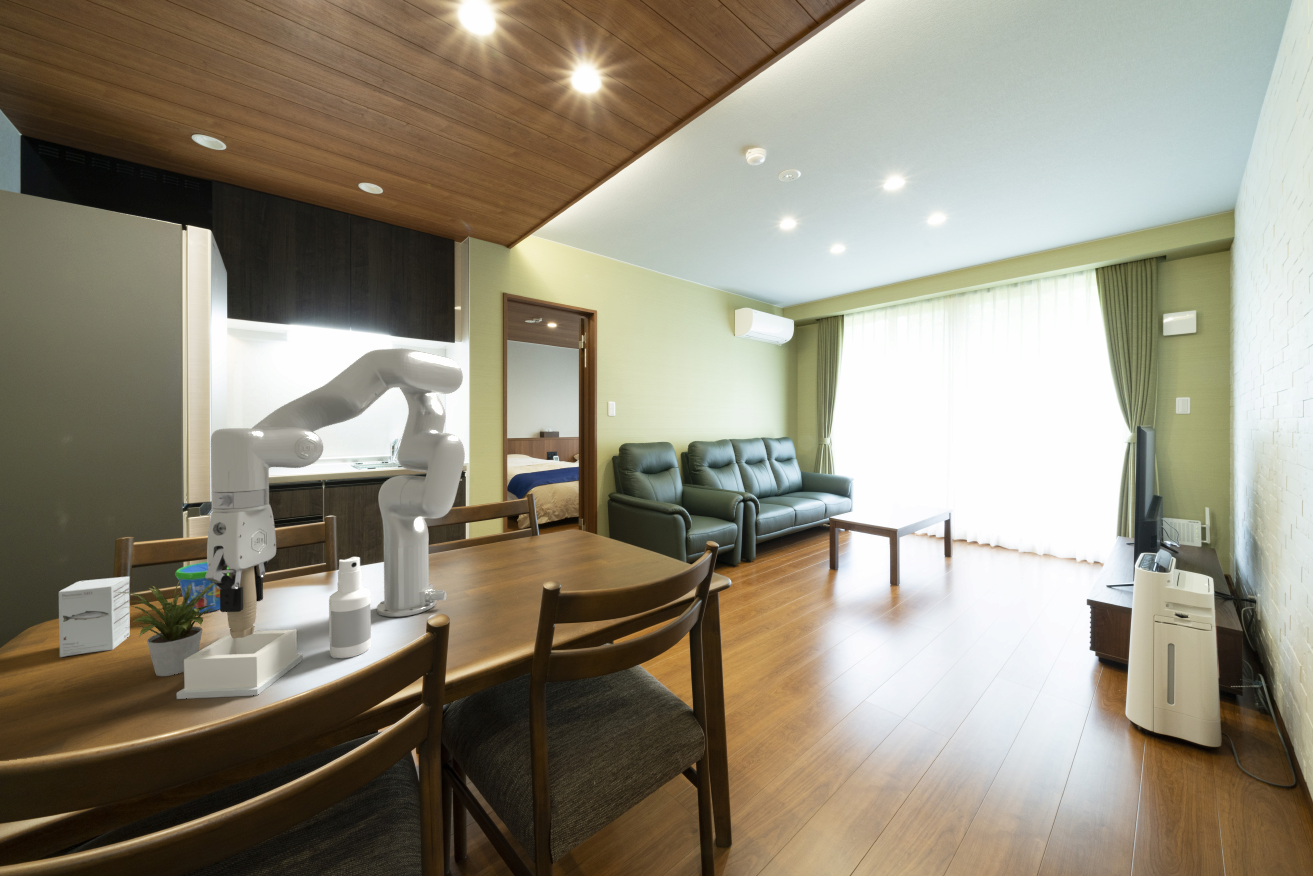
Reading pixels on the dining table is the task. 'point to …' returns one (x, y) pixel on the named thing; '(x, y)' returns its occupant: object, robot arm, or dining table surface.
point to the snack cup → (199, 586)
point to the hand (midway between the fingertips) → (242, 604)
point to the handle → (244, 607)
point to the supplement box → (93, 615)
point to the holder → (240, 665)
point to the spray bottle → (349, 612)
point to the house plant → (172, 630)
